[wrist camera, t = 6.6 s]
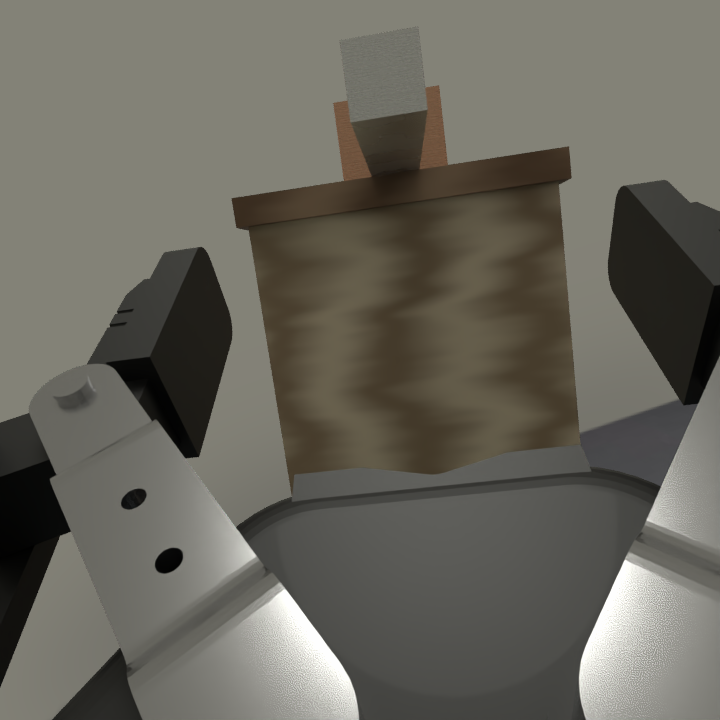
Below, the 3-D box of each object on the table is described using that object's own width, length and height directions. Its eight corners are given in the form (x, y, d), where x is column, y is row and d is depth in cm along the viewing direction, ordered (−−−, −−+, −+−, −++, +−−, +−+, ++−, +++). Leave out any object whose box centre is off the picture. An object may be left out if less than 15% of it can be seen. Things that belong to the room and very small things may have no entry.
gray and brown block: (442, 190, 39) (433, 112, 39) (487, 100, 18) (469, -80, 17) (354, 203, 40) (344, 127, 39) (293, 131, 18) (268, -41, 18)
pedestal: (551, 586, 48) (513, 186, 43) (615, 728, 33) (569, 146, 29) (346, 602, 50) (288, 219, 45) (321, 745, 35) (231, 198, 30)
